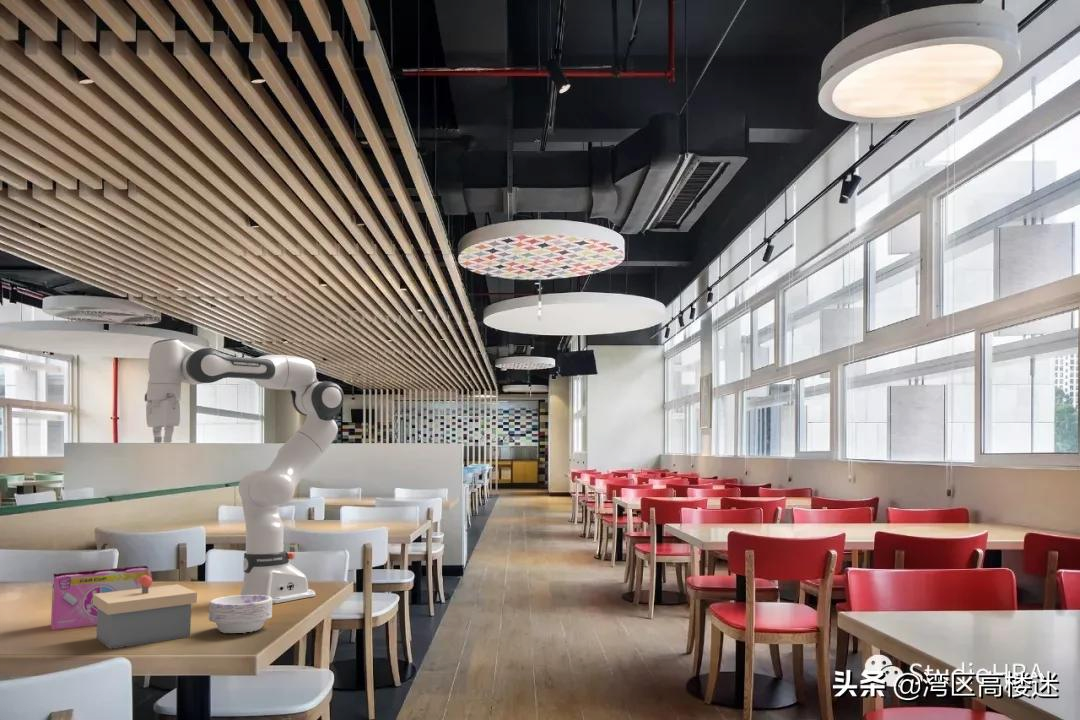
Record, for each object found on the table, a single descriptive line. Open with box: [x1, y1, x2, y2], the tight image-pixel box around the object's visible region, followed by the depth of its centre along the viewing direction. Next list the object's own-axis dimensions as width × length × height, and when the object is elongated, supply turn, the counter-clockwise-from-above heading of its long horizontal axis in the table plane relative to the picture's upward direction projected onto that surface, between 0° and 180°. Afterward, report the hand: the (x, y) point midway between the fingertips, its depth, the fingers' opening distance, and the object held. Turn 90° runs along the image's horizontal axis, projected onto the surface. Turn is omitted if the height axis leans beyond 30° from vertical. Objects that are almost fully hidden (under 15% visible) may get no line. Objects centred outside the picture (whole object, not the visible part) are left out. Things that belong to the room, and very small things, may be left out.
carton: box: [96, 604, 192, 650], centre depth 202 cm, size 18×14×10 cm
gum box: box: [50, 565, 153, 631], centre depth 220 cm, size 24×8×14 cm, turn 123°
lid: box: [92, 575, 198, 615], centre depth 202 cm, size 20×16×7 cm
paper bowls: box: [208, 594, 273, 634], centre depth 208 cm, size 15×15×8 cm
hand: (162, 442), depth 233 cm, fingers open, 8 cm apart
